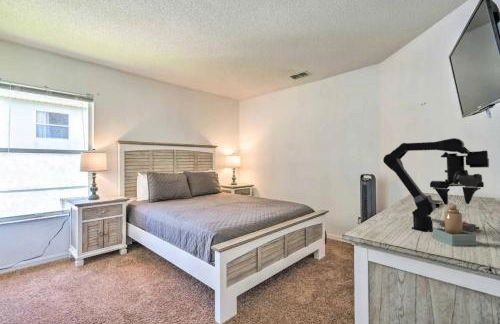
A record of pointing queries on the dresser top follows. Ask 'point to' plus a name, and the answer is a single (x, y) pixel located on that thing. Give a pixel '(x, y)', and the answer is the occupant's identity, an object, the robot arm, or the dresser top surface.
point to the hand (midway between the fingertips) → (456, 204)
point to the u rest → (455, 238)
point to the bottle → (453, 220)
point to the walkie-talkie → (465, 226)
